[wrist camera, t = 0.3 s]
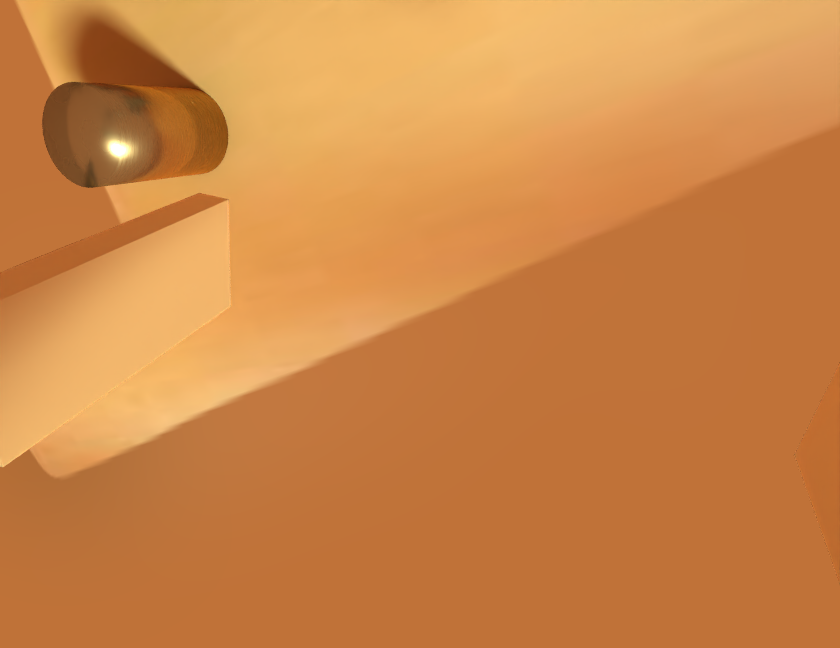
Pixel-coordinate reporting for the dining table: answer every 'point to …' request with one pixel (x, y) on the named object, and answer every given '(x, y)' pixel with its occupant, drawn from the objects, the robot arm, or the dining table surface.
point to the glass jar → (132, 132)
